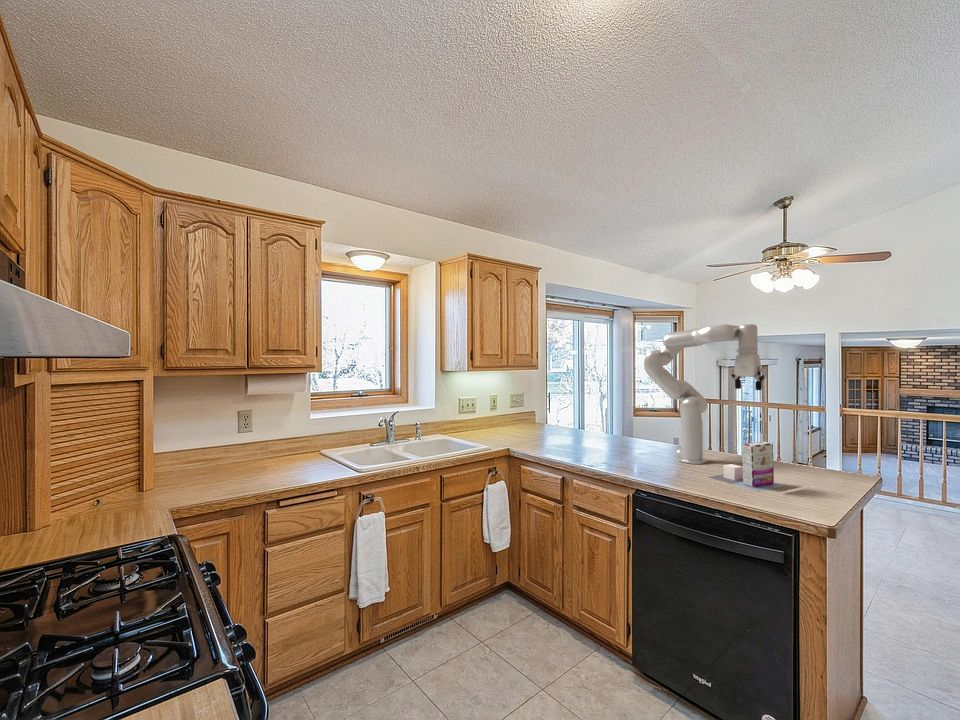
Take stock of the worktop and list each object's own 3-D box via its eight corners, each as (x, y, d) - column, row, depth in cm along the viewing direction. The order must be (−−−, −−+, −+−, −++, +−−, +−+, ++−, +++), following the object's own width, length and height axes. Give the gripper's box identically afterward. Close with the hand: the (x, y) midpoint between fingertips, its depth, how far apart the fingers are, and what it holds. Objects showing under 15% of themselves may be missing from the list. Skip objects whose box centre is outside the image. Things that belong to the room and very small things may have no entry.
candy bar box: (762, 481, 183) (762, 441, 183) (774, 484, 179) (774, 443, 178) (741, 484, 180) (741, 443, 180) (752, 487, 175) (752, 445, 175)
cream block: (723, 477, 190) (723, 465, 190) (731, 475, 192) (731, 464, 192) (734, 480, 185) (734, 468, 185) (742, 478, 188) (742, 466, 187)
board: (708, 479, 190) (708, 477, 190) (733, 474, 197) (733, 472, 197) (759, 493, 170) (759, 491, 170) (785, 487, 177) (785, 485, 177)
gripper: (724, 352, 211) (725, 388, 211) (761, 351, 195) (761, 391, 196) (735, 351, 214) (736, 387, 215) (772, 351, 199) (772, 390, 199)
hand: (748, 389), depth 205 cm, fingers open, 9 cm apart
